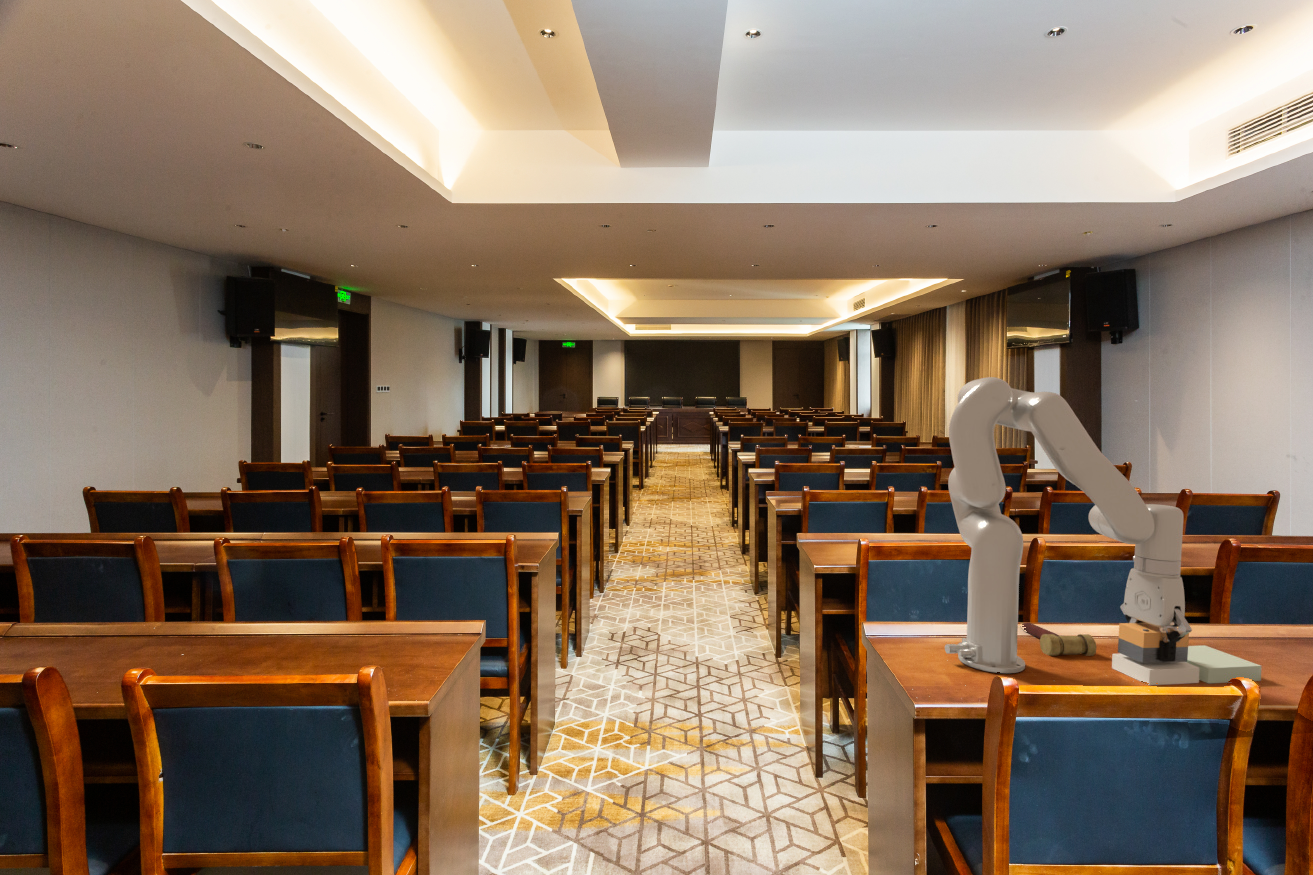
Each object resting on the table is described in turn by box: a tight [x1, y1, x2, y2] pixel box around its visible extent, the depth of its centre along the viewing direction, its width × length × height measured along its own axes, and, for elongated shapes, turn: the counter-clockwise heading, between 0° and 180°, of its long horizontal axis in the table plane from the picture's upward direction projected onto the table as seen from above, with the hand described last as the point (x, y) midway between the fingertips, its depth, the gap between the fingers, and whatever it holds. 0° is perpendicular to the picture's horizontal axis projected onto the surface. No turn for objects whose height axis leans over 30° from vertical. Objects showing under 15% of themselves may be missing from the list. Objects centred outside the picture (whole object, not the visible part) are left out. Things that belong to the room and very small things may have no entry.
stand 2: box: [1186, 644, 1262, 684], centre depth 140 cm, size 12×12×3 cm
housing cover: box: [1118, 622, 1190, 648], centre depth 137 cm, size 10×6×3 cm, turn 98°
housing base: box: [1117, 637, 1188, 663], centre depth 137 cm, size 10×6×3 cm, turn 98°
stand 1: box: [1111, 653, 1200, 686], centre depth 137 cm, size 11×9×3 cm
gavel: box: [1019, 622, 1097, 657], centre depth 157 cm, size 21×5×10 cm
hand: (1152, 653), depth 137 cm, fingers closed on housing base, housing cover, 6 cm apart
